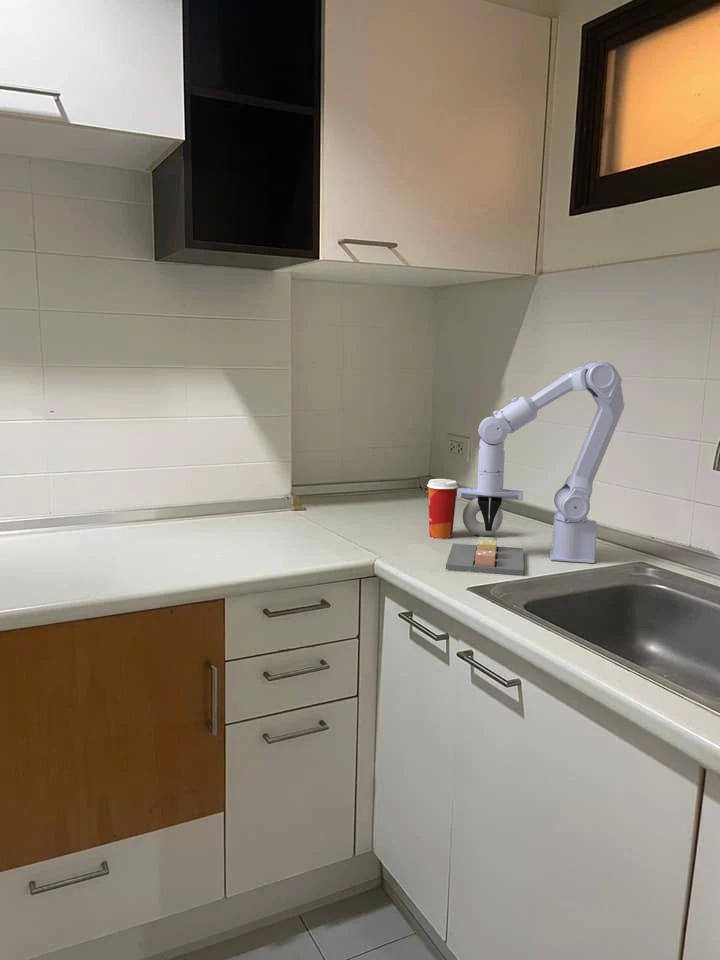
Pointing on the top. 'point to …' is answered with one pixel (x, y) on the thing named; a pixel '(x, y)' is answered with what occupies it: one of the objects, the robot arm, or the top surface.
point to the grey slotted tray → (506, 564)
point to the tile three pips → (485, 558)
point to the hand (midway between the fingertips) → (488, 529)
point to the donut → (473, 524)
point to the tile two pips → (486, 545)
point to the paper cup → (441, 507)
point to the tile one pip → (488, 539)
